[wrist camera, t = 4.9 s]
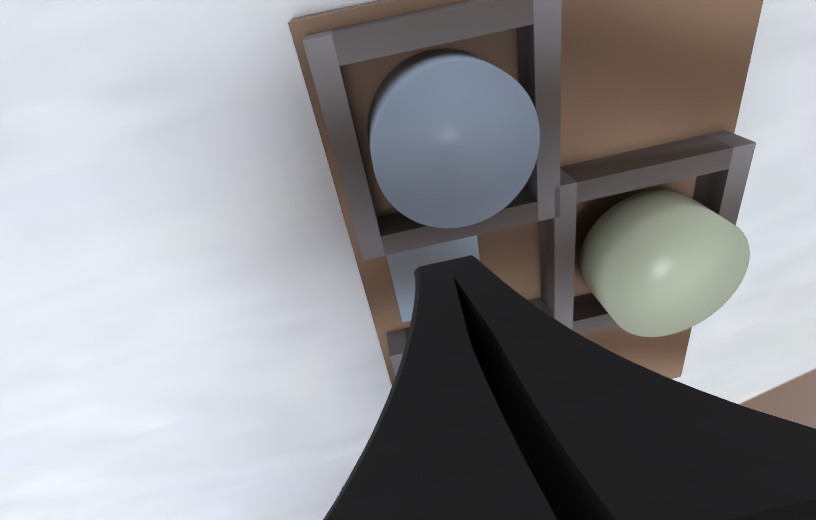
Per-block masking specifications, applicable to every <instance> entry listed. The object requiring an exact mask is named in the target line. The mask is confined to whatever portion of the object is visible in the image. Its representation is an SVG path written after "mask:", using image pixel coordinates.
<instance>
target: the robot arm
mask: <svg viewBox="0 0 816 520" xmlns="http://www.w3.org/2000/svg"><path fill="white" fill-rule="evenodd" d="M414 276H415V298H414V307H413V312H412V318H411V323H410V328H409V333H408V337H407V340H406V344H405V348H404V352H403V355H402V359H401V362H400V365H399V368H398V372H397V375H396V377H395V380H394V383H393V386H392V388H391V391H390V393H389V396H388V399H387V401H386V403H385V406H384V408H383V410H382V413H381V415H380V417H379V419H378V422H377V424H376V426H375V428H374V430H373V433H372V435H371V437H370V439H369V441H368V443H367V445H366V447H365V449H364V451H363V452H362V454H361V456H360V458H359V460H358V461H357V463H356V465H355V467H354V469H353V471H352V472H351V474H350V476H349V478H348V480H347V481H346V483H345V485H344V487H343V489H342V490H341V492H340V494H339V496H338V497H337V499H336V501H335V502H334V504H333V505H332V507H331V509H330V510H329V512H328V513H327V515H326V516H325V518H324V519H323V520H816V429H815V428H811V427H808V426H805V425H801V424H798V423H795V422H792V421H788V420H785V419H782V418H778V417H776V416H772V415H769V414H766V413H762V412H759V411H756V410H753V409H750V408H747V407H744V406H741V405H738V404H736V403H733V402H730V401H727V400H725V399H722V398H719V397H717V396H714V395H711V394H708V393H706V392H703V391H700V390H697V389H695V388H692V387H690V386H687V385H685V384H682V383H680V382H677V381H675V380H672V379H670V378H668V377H665V376H663V375H661V374H659V373H656V372H654V371H652V370H650V369H647V368H645V367H643V366H641V365H638V364H636V363H634V362H632V361H630V360H628V359H625V358H623V357H621V356H619V355H617V354H615V353H613V352H611V351H609V350H607V349H606V348H604V347H602V346H600V345H598V344H596V343H594V342H593V341H591V340H589V339H587V338H585V337H583V336H581V335H580V334H578V333H576V332H575V331H573V330H571V329H570V328H568V327H567V326H565V325H563V324H562V323H560V322H559V321H557V320H556V319H554V318H553V317H551V316H550V315H548V314H547V313H545V312H544V311H542V310H541V309H539V308H538V307H537V306H535V305H534V304H533V303H531V302H530V301H528V300H527V299H526V298H524V297H523V296H522V295H520V294H519V293H518V292H516V291H515V290H514V289H512V288H511V287H510V286H509V285H507V284H506V283H505V282H504V281H503V280H501V279H500V278H499V277H498V276H496V275H495V274H494V273H493V272H492V271H491V270H489V269H488V268H487V267H486V266H485V265H484V264H483V263H481V262H480V261H479V260H478V259H477V258H475V257H474V256H472V255H470V256H465V257H461V258H456V259H452V260H447V261H442V262H438V263H433V264H429V265H424V266H420V267H418V268H417V269H416V270H415V271H414Z"/></svg>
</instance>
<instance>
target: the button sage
mask: <svg viewBox="0 0 816 520" xmlns="http://www.w3.org/2000/svg"><path fill="white" fill-rule="evenodd" d="M749 255H750V251H749V244H748V241H747V238H746V237H745V235H744V233H743V232H742V231H741V230H740V229H739V228H738V227H737V226H735V225H734V224H732V223H731V222H729V221H728V220H726V219H724V218H723V217H721V216H720V215H718V214H716V213H715V212H713V211H712V210H710V209H708V208H707V207H705V206H704V205H702V204H700V203H699V202H697V201H696V200H694V199H692V198H691V197H689V196H688V195H686V194H684V193H682V192H680V191H676V190H672V189H652V190H647V191H643V192H639V193H637V194H634V195H632V196H629V197H627V198H626V199H624V200H622V201H620V202H619V203H617V204H615V205H614V206H613V207H611V208H610V209H609V210H608V211H606V212H605V213H604V214H603V215H602V216H601V217H600V218H599V219H598V220H597V221H596V223H595V224H594V225H593V226H592V228H591V229H590V231H589V232H588V234H587V236H586V238H585V239H584V242H583V244H582V247H581V250H580V254H579V271H580V275H581V278H582V280H583V282H584V283H585V285H586V286H587V287H588V289H589V290H590V291H591V292H592V294H593V295H594V296H595V297H596V299H597V300H598V301H599V302H600V303H601V305H602V306H603V307H604V308H605V310H606V311H607V312H608V313H609V315H610V316H611V317H612V318H613V320H614V321H615V322H616V323H617V324H618V325H619V326H620V327H621V328H622V329H623V330H625V331H627V332H629V333H631V334H634V335H637V336H643V337H660V336H666V335H671V334H674V333H678V332H681V331H683V330H686V329H688V328H690V327H692V326H695V325H696V324H698V323H700V322H702V321H703V320H705V319H706V318H708V317H709V316H711V315H712V314H713V313H715V312H716V311H717V310H718V309H719V308H720V307H722V306H723V305H724V304H725V303H726V302H727V301H728V299H729V298H730V297H731V296H732V295H733V293H734V292H735V291H736V290H737V288H738V286H739V285H740V283H741V282H742V280H743V278H744V275H745V273H746V270H747V267H748V263H749Z"/></svg>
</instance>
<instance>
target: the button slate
mask: <svg viewBox="0 0 816 520" xmlns="http://www.w3.org/2000/svg"><path fill="white" fill-rule="evenodd" d="M367 136H368V142H369V148H370V153H371V158H372V163H373V168H374V173H375V176H376V179H377V182H378V184H379V186H380V189H381V191H382V192H383V194H384V195H385V197H386V198H387V200H388V201H389V202H390V203H391V204H392V206H393V207H394V208H396V209H397V210H398V211H399V212H400V213H401V214H403V215H405V216H406V217H408V218H409V219H411V220H413V221H415V222H417V223H420V224H423V225H426V226H431V227H436V228H459V227H465V226H469V225H473V224H476V223H479V222H481V221H484V220H486V219H488V218H490V217H491V216H493V215H495V214H496V213H498V212H499V211H501V210H502V209H504V208H505V207H506V206H507V205H508V204H509V203H510V202H512V200H513V199H514V198H515V197H516V196H517V195H518V194H519V193H520V191H521V190H522V189H523V187H524V186H525V184H526V183H527V181H528V179H529V177H530V176H531V173H532V171H533V169H534V166H535V163H536V160H537V157H538V151H539V145H540V129H539V121H538V117H537V113H536V110H535V107H534V105H533V103H532V101H531V99H530V97H529V95H528V94H527V92H526V91H525V90H524V88H523V87H522V86H521V85H520V84H519V83H518V82H517V81H516V80H515V79H514V78H513V77H511V76H510V75H509V74H507V73H506V72H504V71H503V70H501V69H499V68H497V67H496V66H494V65H492V64H490V63H489V62H487V61H485V60H483V59H482V58H480V57H478V56H476V55H474V54H472V53H469V52H465V51H462V50H457V49H435V50H429V51H426V52H422V53H419V54H417V55H415V56H413V57H410V58H409V59H407V60H406V61H404V62H402V63H401V64H400V65H398V66H397V67H396V68H395V69H394V70H393V71H392V72H391V73H390V74H389V75H388V76H387V77H386V78H385V79H384V81H383V82H382V84H381V85H380V86H379V88H378V90H377V92H376V94H375V96H374V98H373V101H372V104H371V106H370V111H369V115H368V123H367Z"/></svg>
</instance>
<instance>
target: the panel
mask: <svg viewBox="0 0 816 520" xmlns="http://www.w3.org/2000/svg"><path fill="white" fill-rule="evenodd" d="M762 4H763V0H378V1H373V2H369V3H364V4H359V5H355V6H350V7H345V8H341V9H336V10H331V11H326V12H322V13H317V14H312V15H308V16H303V17H298V18H294V19H292V20H291V21H290V22H289V23H288V24H289V27H290V31H291V34H292V38H293V41H294V45H295V48H296V52H297V55H298V59H299V62H300V66H301V69H302V73H303V76H304V80H305V83H306V87H307V90H308V94H309V97H310V101H311V104H312V108H313V111H314V115H315V118H316V122H317V125H318V128H319V132H320V135H321V139H322V142H323V146H324V149H325V153H326V156H327V160H328V163H329V167H330V170H331V174H332V177H333V181H334V184H335V188H336V191H337V195H338V198H339V202H340V205H341V209H342V212H343V216H344V219H345V223H346V226H347V230H348V233H349V237H350V240H351V244H352V247H353V251H354V254H355V258H356V261H357V265H358V268H359V272H360V275H361V279H362V282H363V286H364V289H365V293H366V296H367V300H368V303H369V307H370V310H371V314H372V317H373V321H374V324H375V328H376V331H377V334H378V338H379V341H380V345H381V348H382V352H383V355H384V359H385V362H386V366H387V369H388V373H389V376H390V380H391V383H392V386H393V383H394V380H395V377H396V375H397V372H398V368H399V365H400V362H401V359H402V355H403V352H404V348H405V344H406V340H407V337H408V333H409V328H410V323H411V318H412V312H413V307H414V298H415V276H414V271H415V270H416V269H417V268H418V267H420V266H424V265H429V264H433V263H438V262H442V261H447V260H452V259H456V258H461V257H465V256H470V255H472V256H474V257H475V258H477V259H478V260H479V261H480V262H481V263H483V264H484V265H485V266H486V267H487V268H488V269H489V270H491V271H492V272H493V273H494V274H495V275H496V276H498V277H499V278H500V279H501V280H503V281H504V282H505V283H506V284H507V285H509V286H510V287H511V288H512V289H514V290H515V291H516V292H518V293H519V294H520V295H522V296H523V297H524V298H526V299H527V300H528V301H530V302H531V303H533V304H534V305H535V306H537V307H538V308H539V309H541V310H542V311H544V312H545V313H547V314H548V315H550V316H551V317H553V318H554V319H556V320H557V321H559V322H560V323H562V324H563V325H565V326H567V327H568V328H570V329H571V330H573V331H575V332H576V333H578V334H580V335H581V336H583V337H585V338H587V339H589V340H591V341H593V342H594V343H596V344H598V345H600V346H602V347H604V348H606V349H607V350H609V351H611V352H613V353H615V354H617V355H619V356H621V357H623V358H625V359H628V360H630V361H632V362H634V363H636V364H638V365H641V366H643V367H645V368H647V369H650V370H652V371H654V372H656V373H659V374H661V375H663V376H665V377H668V378H670V379H673V378H677V377H681V374H682V369H683V365H684V360H685V355H686V351H687V346H688V342H689V337H690V333H691V328H692V327H690V328H688V329H686V330H683V331H681V332H678V333H674V334H671V335H666V336H660V337H643V336H637V335H634V334H631V333H629V332H627V331H625V330H623V329H622V328H621V327H620V326H619V325H618V324H617V323H616V322H615V321H614V320H613V318H612V317H611V316H610V315H609V313H608V312H607V311H606V310H605V308H604V307H603V306H602V305H601V303H600V302H599V301H598V300H597V299H596V297H595V296H594V295H593V294H592V292H591V291H590V290H589V289H588V287H587V286H586V285H585V283H584V282H583V280H582V278H581V275H580V271H579V254H580V250H581V247H582V244H583V242H584V239H585V238H586V236H587V234H588V232H589V231H590V229H591V228H592V226H593V225H594V224H595V223H596V221H597V220H598V219H599V218H600V217H601V216H602V215H603V214H604V213H605V212H606V211H608V210H609V209H610V208H611V207H613V206H614V205H615V204H617V203H619V202H620V201H622V200H624V199H626V198H627V197H629V196H632V195H634V194H637V193H639V192H643V191H647V190H652V189H672V190H676V191H680V192H682V193H684V194H686V195H688V196H689V197H691V198H692V199H694V200H696V201H697V202H699V203H700V204H702V205H704V206H705V207H707V208H708V209H710V210H712V211H713V212H715V213H716V214H718V215H720V216H721V217H723V218H724V219H726V220H728V221H729V222H731V223H732V224H734V225H736V221H737V217H738V213H739V209H740V205H741V201H742V197H743V193H744V189H745V185H746V181H747V177H748V173H749V169H750V165H751V161H752V157H753V153H754V149H755V145H756V142H753V141H751V140H748V139H746V138H743V137H741V136H738V135H736V134H734V132H735V127H736V123H737V118H738V113H739V109H740V104H741V100H742V95H743V91H744V86H745V81H746V77H747V72H748V68H749V63H750V59H751V54H752V50H753V45H754V40H755V36H756V31H757V27H758V22H759V18H760V13H761V8H762ZM435 49H457V50H462V51H465V52H469V53H472V54H474V55H476V56H478V57H480V58H482V59H483V60H485V61H487V62H489V63H490V64H492V65H494V66H496V67H497V68H499V69H501V70H503V71H504V72H506V73H507V74H509V75H510V76H511V77H513V78H514V79H515V80H516V81H517V82H518V83H519V84H520V85H521V86H522V87H523V88H524V90H525V91H526V92H527V94H528V95H529V97H530V99H531V101H532V103H533V105H534V107H535V110H536V113H537V117H538V121H539V129H540V145H539V151H538V157H537V160H536V163H535V166H534V169H533V171H532V173H531V176H530V177H529V179H528V181H527V183H526V184H525V186H524V187H523V189H522V190H521V191H520V193H519V194H518V195H517V196H516V197H515V198H514V199H513V200H512V202H510V203H509V204H508V205H507V206H506V207H505V208H504V209H502V210H501V211H499V212H498V213H496V214H495V215H493V216H491V217H490V218H488V219H486V220H484V221H481V222H479V223H476V224H473V225H469V226H465V227H459V228H436V227H431V226H426V225H423V224H420V223H417V222H415V221H413V220H411V219H409V218H408V217H406V216H405V215H403V214H401V213H400V212H399V211H398V210H397V209H396V208H394V207H393V206H392V204H391V203H390V202H389V201H388V200H387V198H386V197H385V195H384V194H383V192H382V191H381V189H380V186H379V184H378V182H377V179H376V176H375V173H374V168H373V163H372V158H371V153H370V148H369V142H368V136H367V123H368V115H369V111H370V106H371V104H372V101H373V98H374V96H375V94H376V92H377V90H378V88H379V86H380V85H381V84H382V82H383V81H384V79H385V78H386V77H387V76H388V75H389V74H390V73H391V72H392V71H393V70H394V69H395V68H396V67H397V66H398V65H400V64H401V63H402V62H404V61H406V60H407V59H409V58H410V57H413V56H415V55H417V54H419V53H422V52H426V51H429V50H435Z"/></svg>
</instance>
